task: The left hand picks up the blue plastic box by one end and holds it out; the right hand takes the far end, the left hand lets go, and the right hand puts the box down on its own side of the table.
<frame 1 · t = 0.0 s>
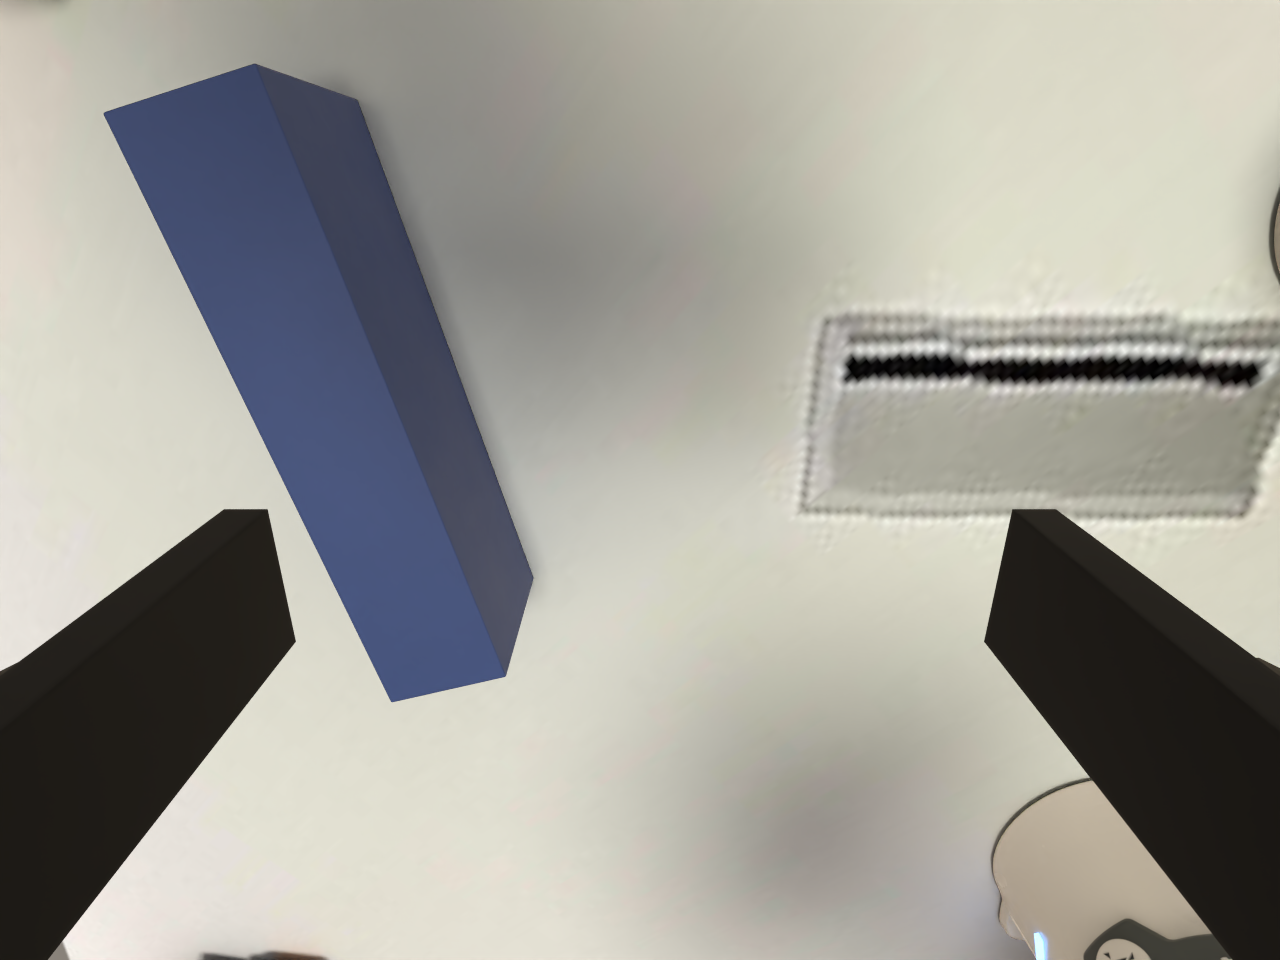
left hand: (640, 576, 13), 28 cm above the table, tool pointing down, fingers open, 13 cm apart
box: (405, 382, 40), on the table
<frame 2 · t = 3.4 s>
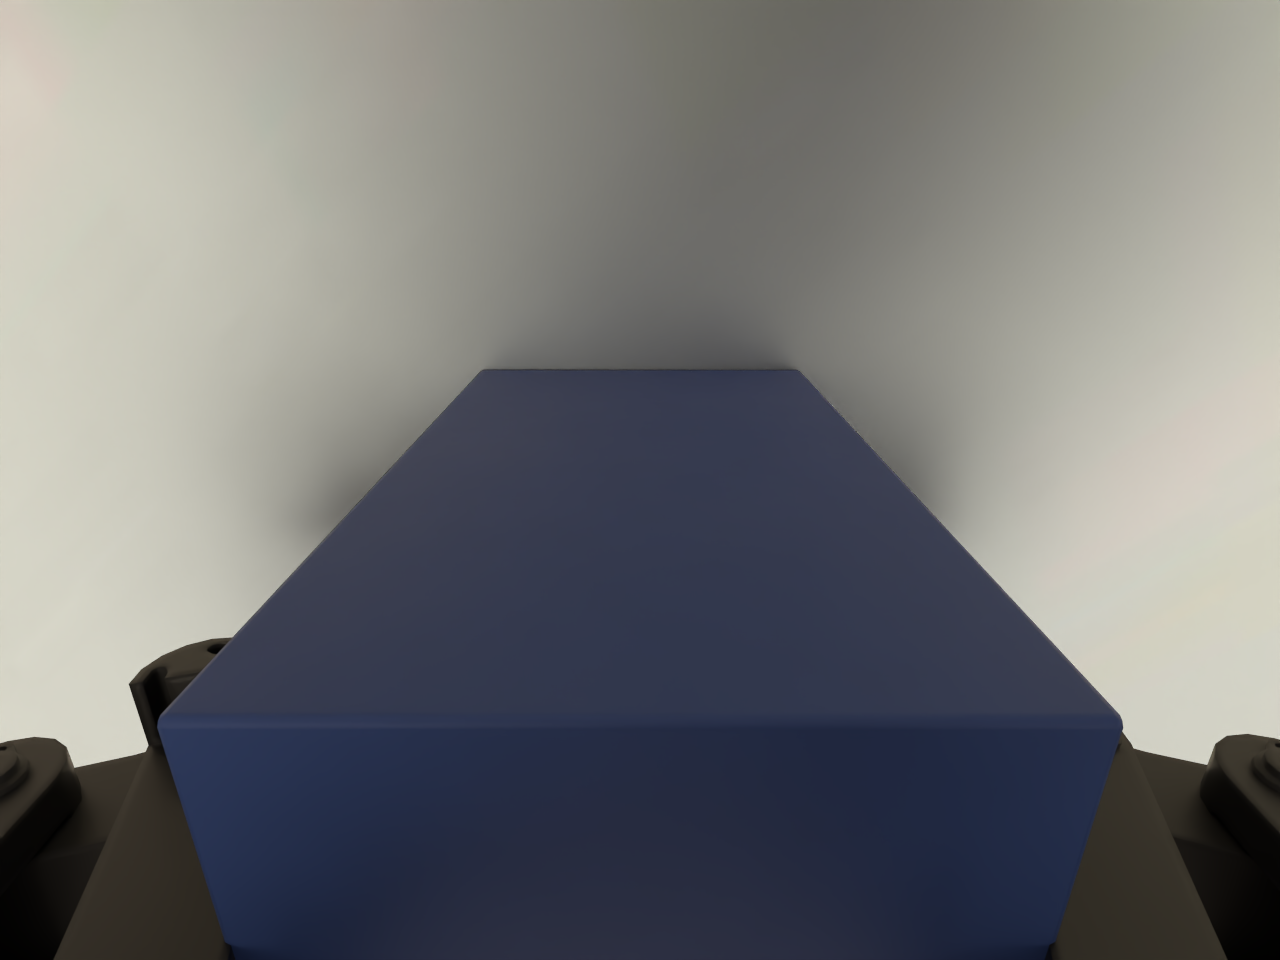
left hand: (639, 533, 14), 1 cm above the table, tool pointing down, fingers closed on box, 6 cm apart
box: (640, 884, 19), on the table, touching left hand
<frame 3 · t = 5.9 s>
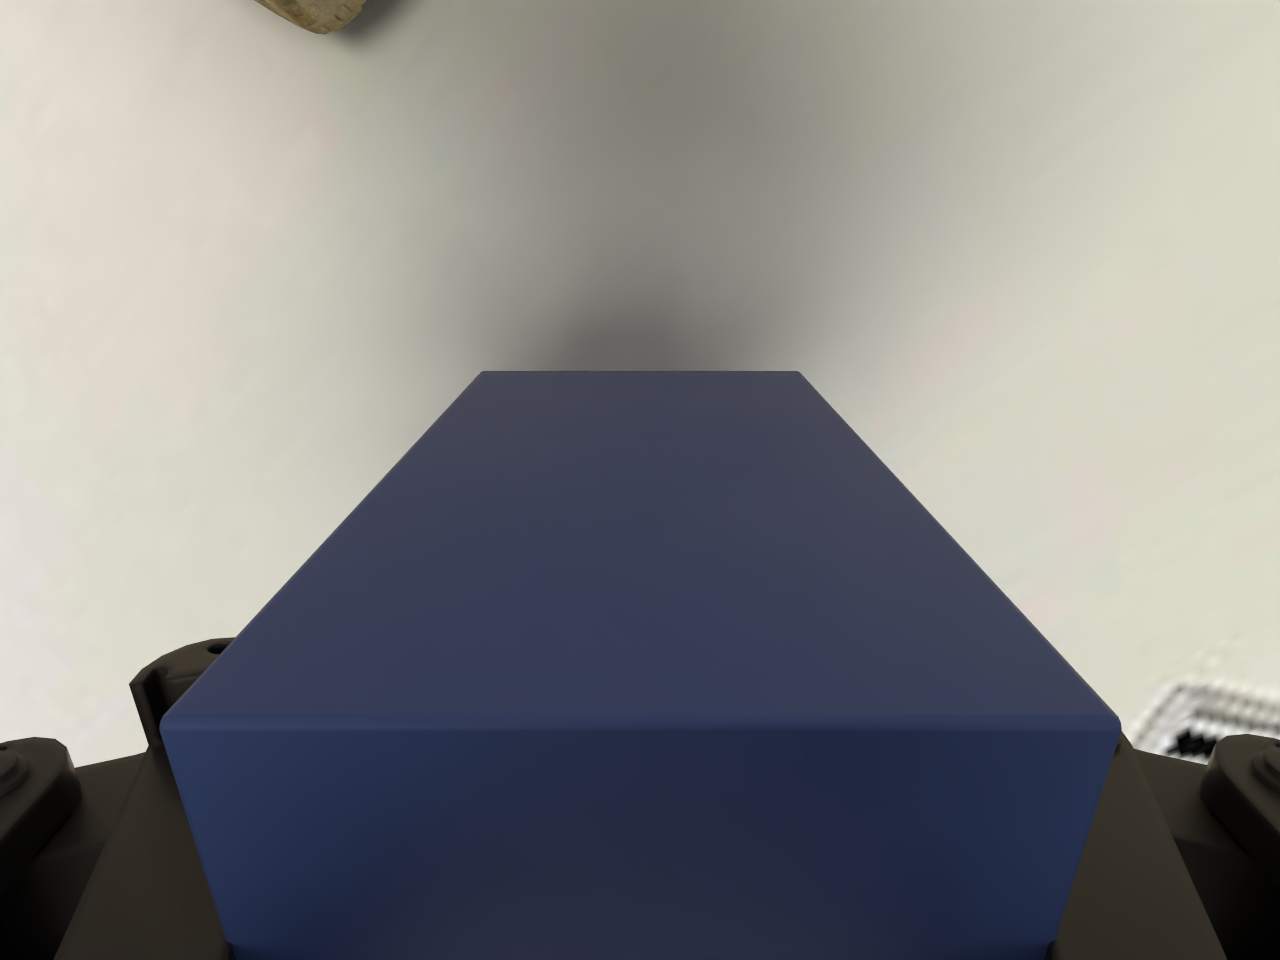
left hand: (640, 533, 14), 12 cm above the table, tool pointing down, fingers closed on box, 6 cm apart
box: (640, 884, 19), point 12 cm above the table, touching left hand
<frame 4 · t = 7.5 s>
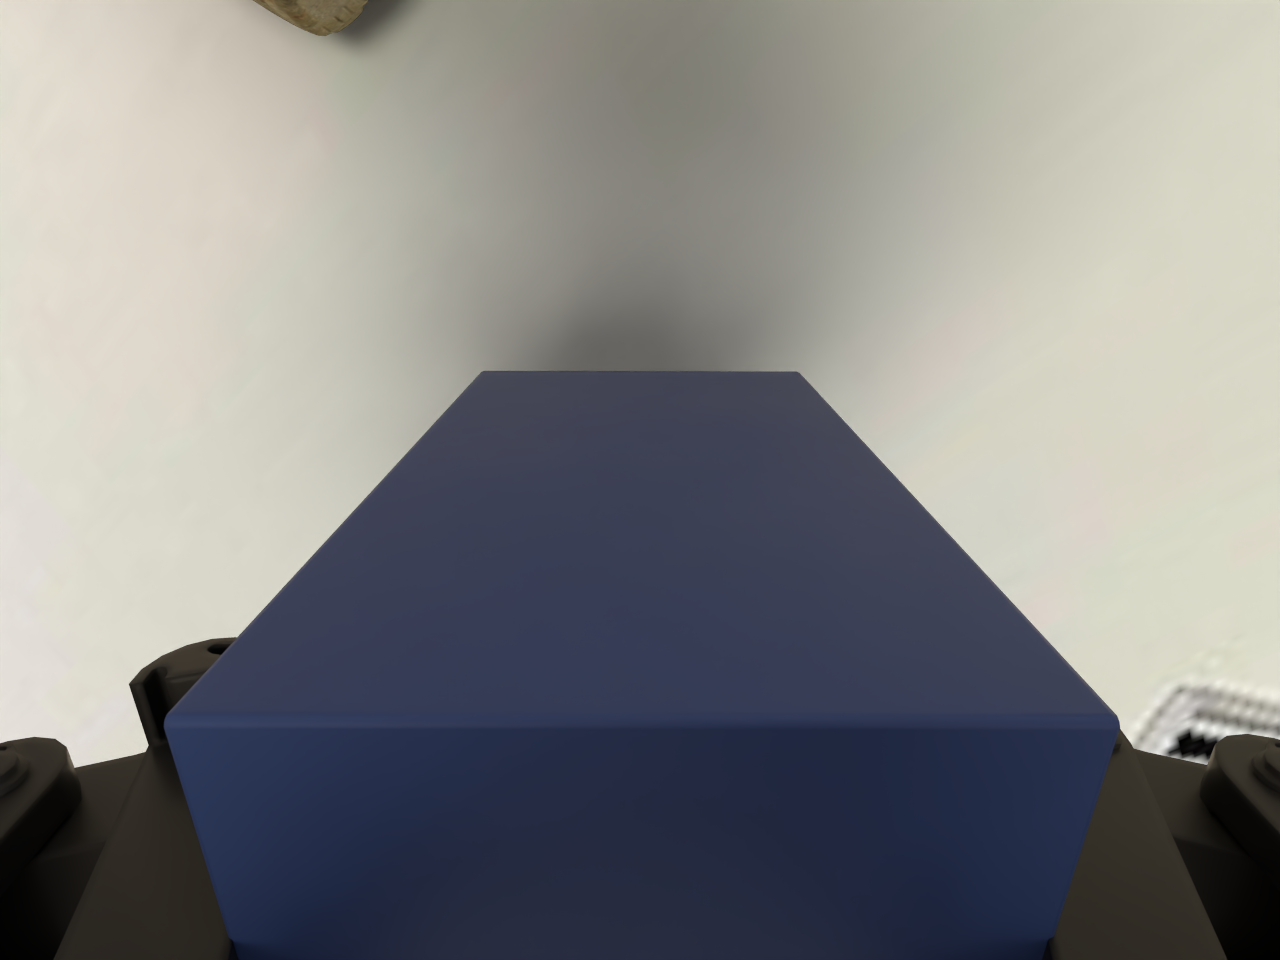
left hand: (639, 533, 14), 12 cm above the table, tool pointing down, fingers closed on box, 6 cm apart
box: (639, 884, 19), point 12 cm above the table, touching left hand, right hand
when the left hand's fingers open (12 cm above the table, at t = 8.6 s): box stays where it is, held by the right hand.
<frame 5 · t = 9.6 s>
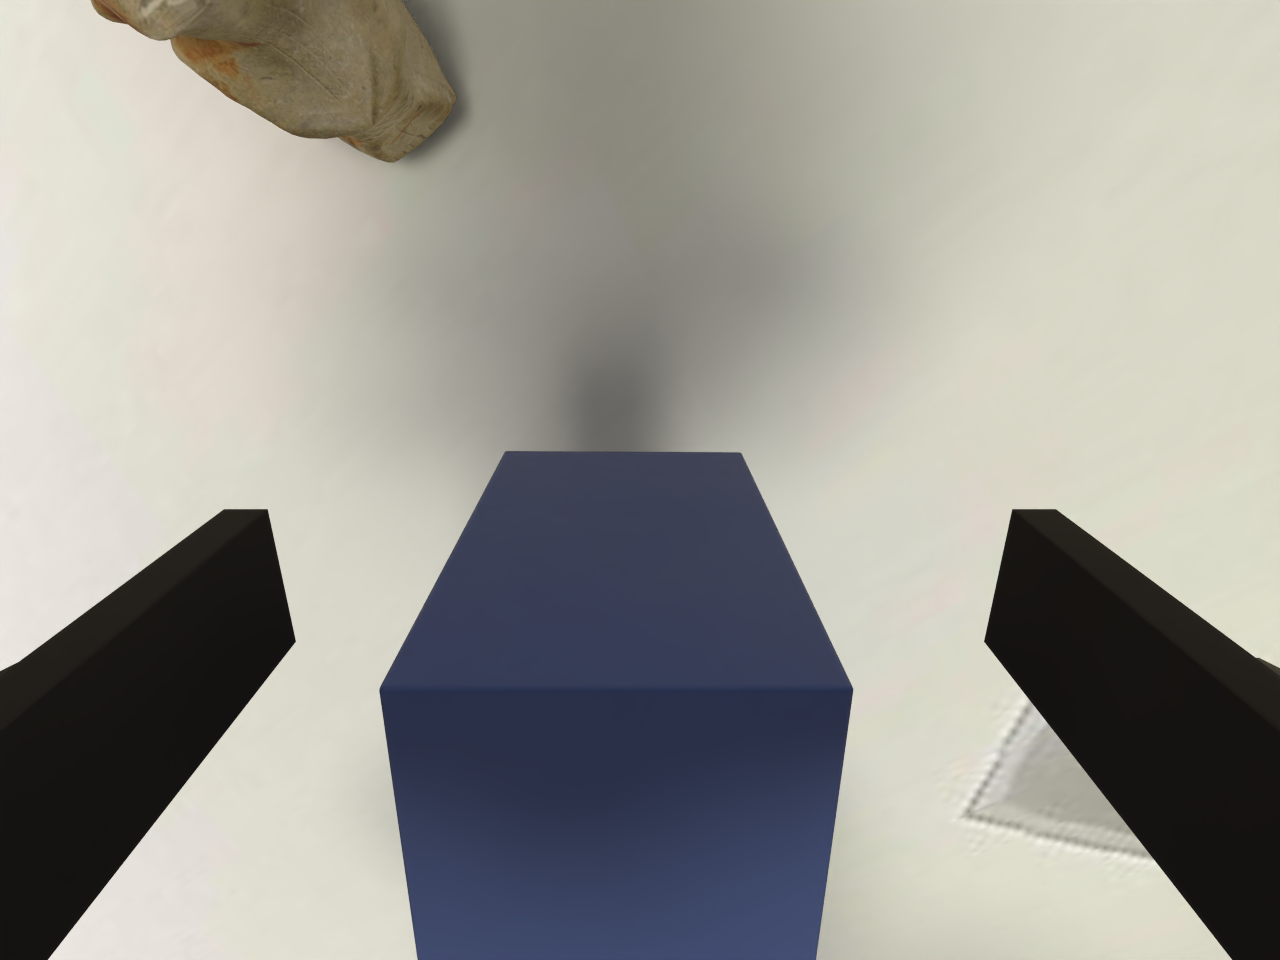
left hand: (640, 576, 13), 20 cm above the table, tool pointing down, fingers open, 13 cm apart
box: (622, 851, 23), point 14 cm above the table, touching right hand
sculpture: (381, 67, 28), on the table
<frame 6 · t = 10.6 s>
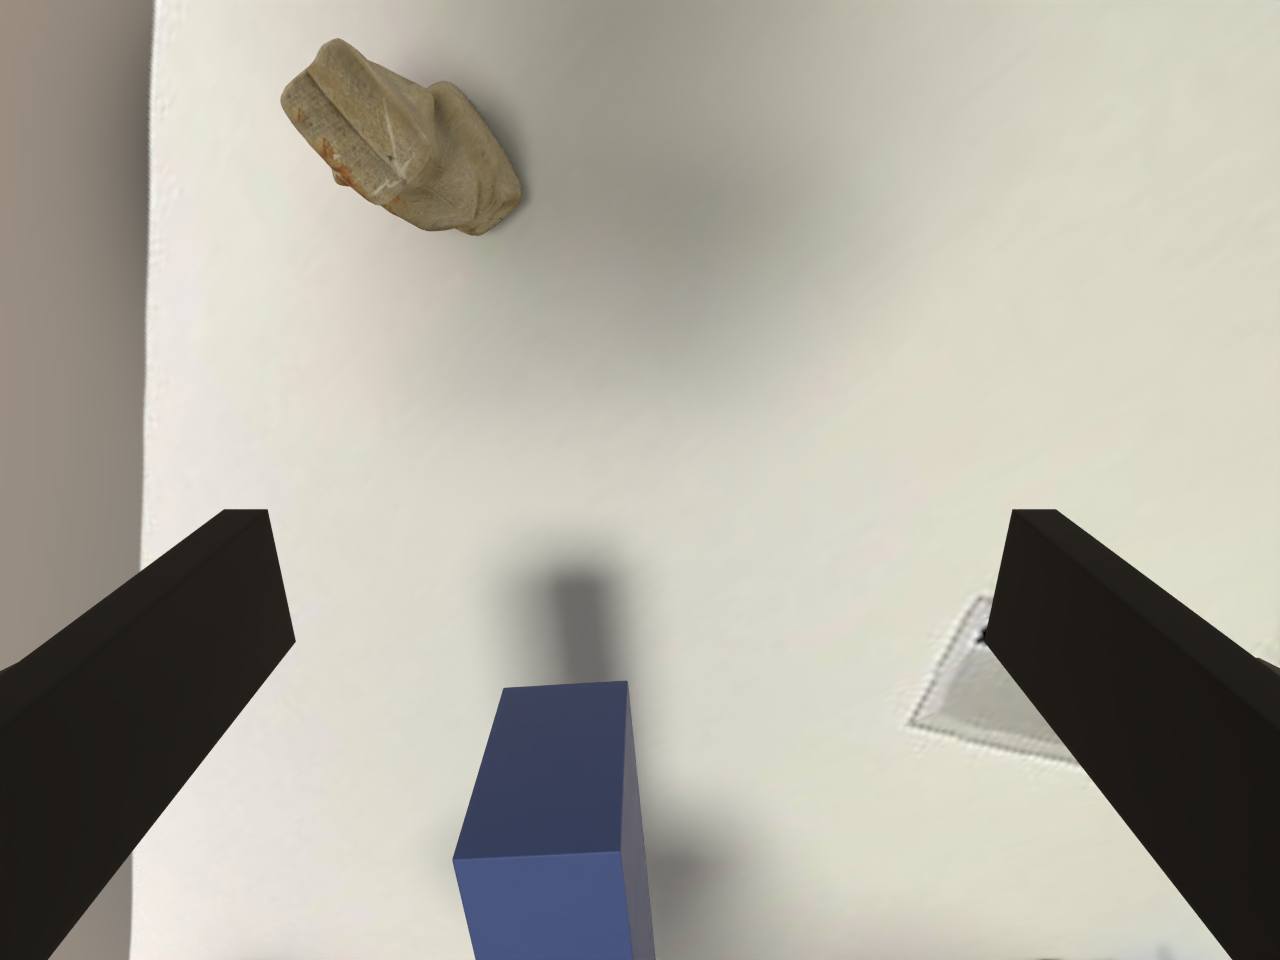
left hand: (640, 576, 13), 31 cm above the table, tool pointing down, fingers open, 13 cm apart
box: (593, 887, 40), point 14 cm above the table, touching right hand
sculpture: (468, 163, 39), on the table
when the right hand's fingers open (6 cm above the table, at t = 13.7 s): box stays where it is, on the table.
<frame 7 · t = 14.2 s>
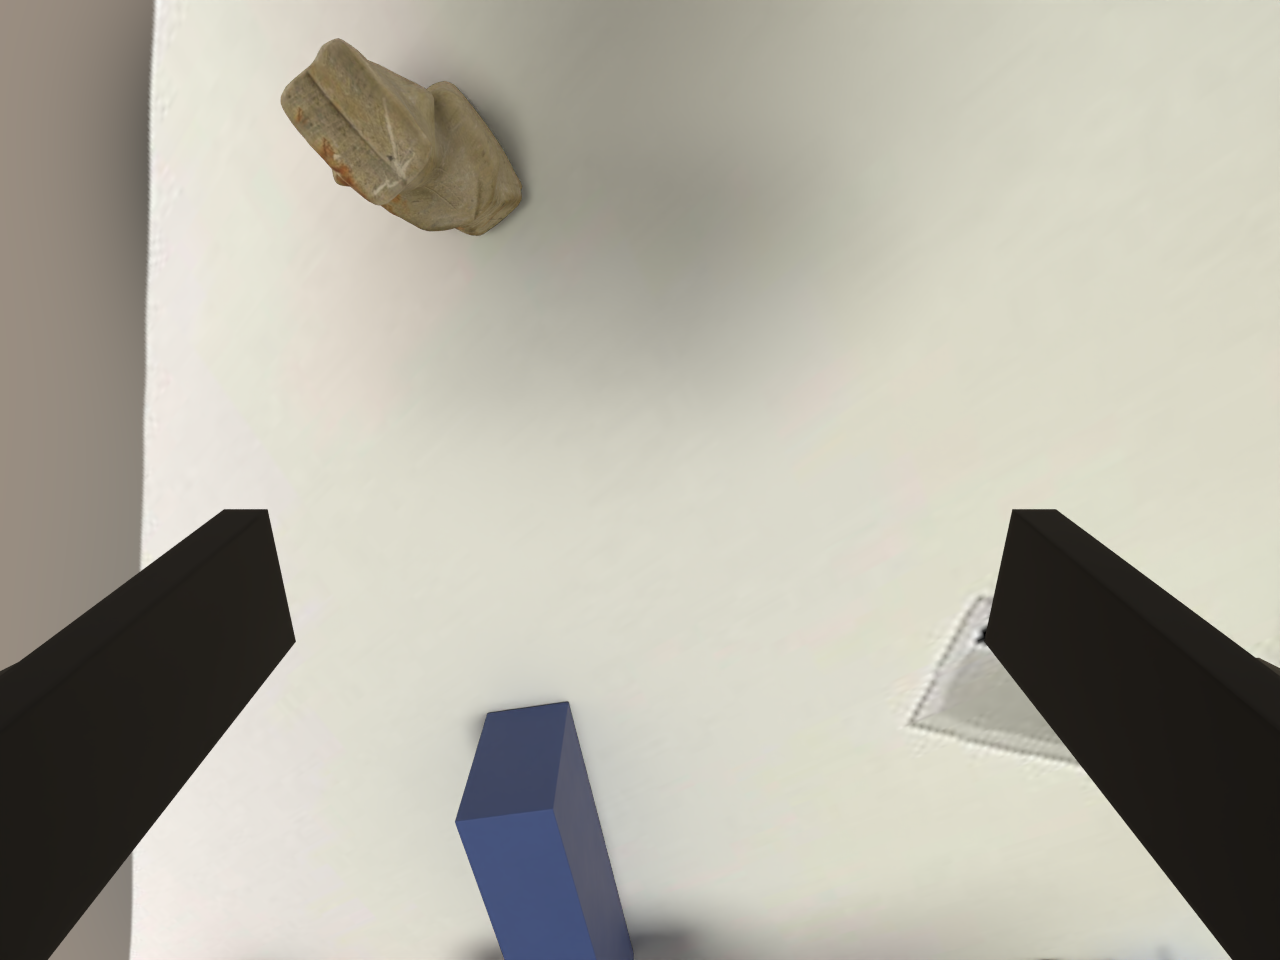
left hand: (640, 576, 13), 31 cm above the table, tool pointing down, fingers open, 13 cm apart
box: (566, 843, 57), on the table
sculpture: (468, 163, 39), on the table
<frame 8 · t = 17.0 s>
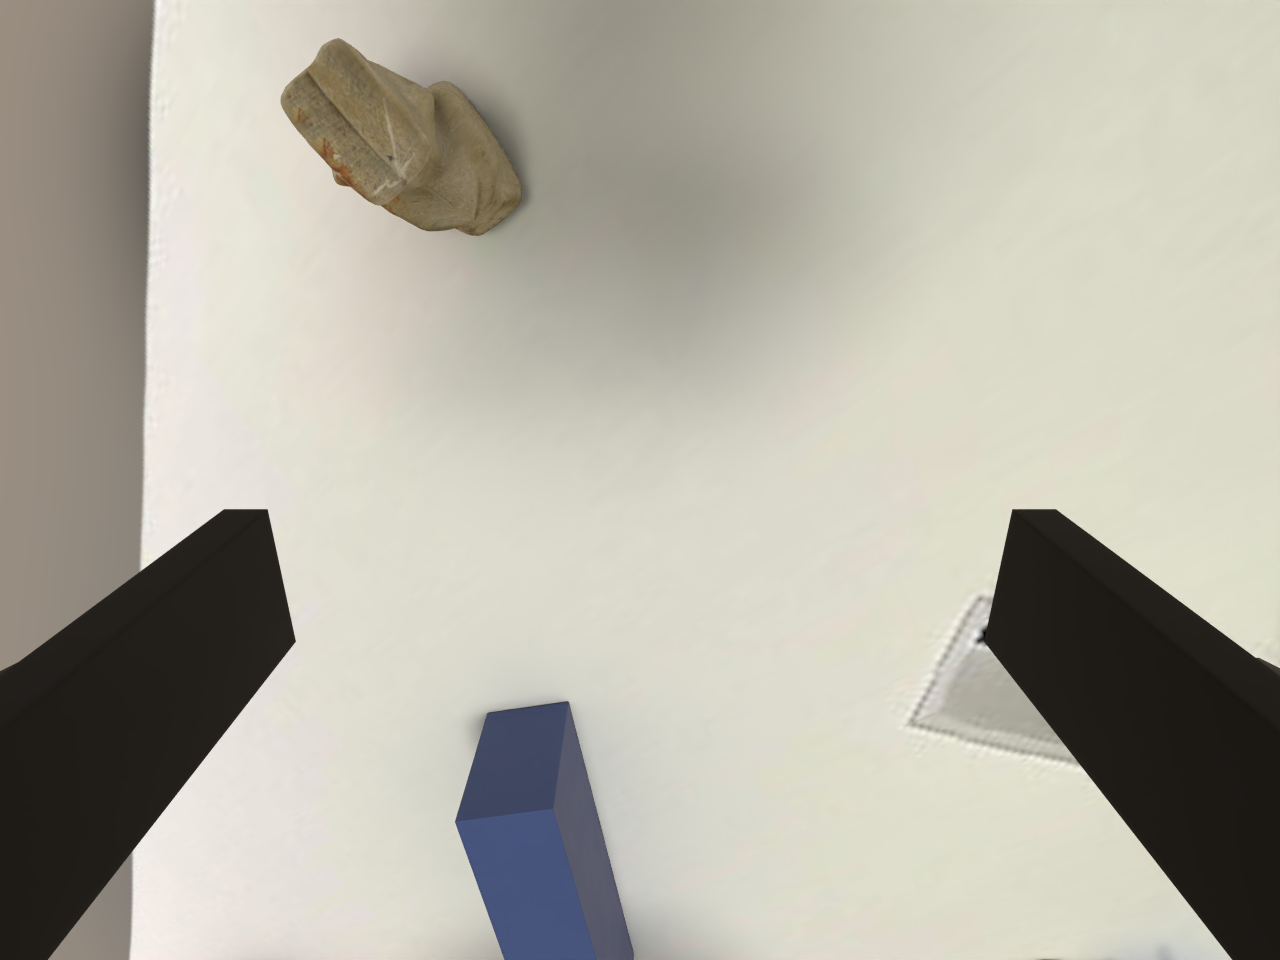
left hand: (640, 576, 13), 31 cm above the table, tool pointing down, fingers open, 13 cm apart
box: (566, 843, 57), on the table
sculpture: (468, 163, 39), on the table
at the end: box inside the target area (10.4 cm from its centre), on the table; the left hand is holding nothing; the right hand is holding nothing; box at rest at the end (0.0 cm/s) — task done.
